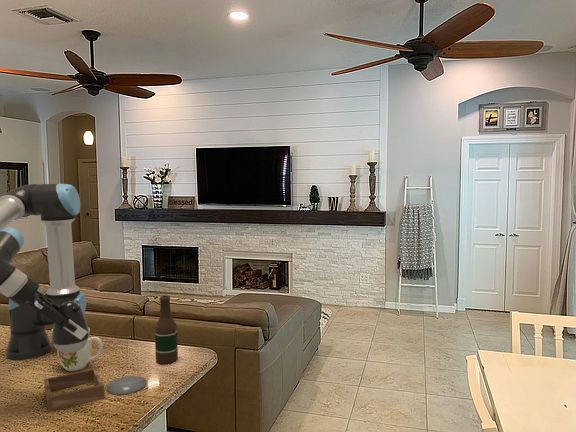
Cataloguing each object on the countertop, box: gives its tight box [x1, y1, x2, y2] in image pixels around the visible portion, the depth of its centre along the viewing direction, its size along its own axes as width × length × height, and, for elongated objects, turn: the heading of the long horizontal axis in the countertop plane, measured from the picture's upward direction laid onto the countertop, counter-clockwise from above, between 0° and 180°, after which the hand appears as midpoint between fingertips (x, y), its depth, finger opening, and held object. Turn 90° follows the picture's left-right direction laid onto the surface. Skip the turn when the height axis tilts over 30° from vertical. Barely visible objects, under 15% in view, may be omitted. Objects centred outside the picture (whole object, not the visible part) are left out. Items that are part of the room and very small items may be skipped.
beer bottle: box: [154, 295, 179, 366], centre depth 165 cm, size 8×8×24 cm
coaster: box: [106, 375, 147, 396], centre depth 146 cm, size 12×12×1 cm
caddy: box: [43, 367, 105, 412], centre depth 140 cm, size 15×15×4 cm
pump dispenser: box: [51, 301, 90, 353], centre depth 138 cm, size 10×10×15 cm
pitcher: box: [50, 327, 104, 372], centre depth 161 cm, size 11×18×14 cm, turn 88°
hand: (81, 330), depth 140 cm, fingers closed on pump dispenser, 10 cm apart
